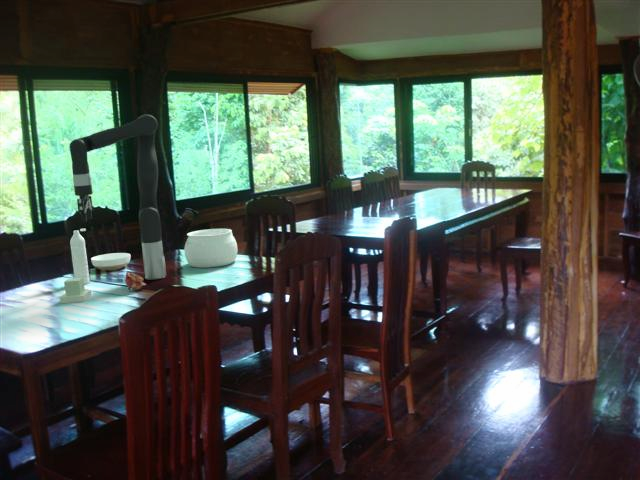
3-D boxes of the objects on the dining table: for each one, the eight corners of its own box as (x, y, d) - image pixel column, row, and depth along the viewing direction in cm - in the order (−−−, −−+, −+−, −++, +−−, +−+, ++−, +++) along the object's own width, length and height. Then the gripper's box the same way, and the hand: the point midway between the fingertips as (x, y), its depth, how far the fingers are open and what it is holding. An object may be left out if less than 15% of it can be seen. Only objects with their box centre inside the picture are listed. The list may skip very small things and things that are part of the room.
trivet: (91, 295, 292) (90, 289, 292) (84, 301, 282) (84, 295, 282) (67, 297, 292) (67, 291, 291) (60, 303, 282) (59, 297, 281)
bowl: (139, 265, 354) (138, 253, 353) (110, 273, 338) (108, 261, 337) (114, 263, 364) (112, 252, 363) (84, 271, 348) (82, 259, 347)
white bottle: (82, 285, 314) (76, 231, 310) (72, 284, 317) (65, 231, 313) (96, 280, 322) (90, 228, 317) (86, 280, 324) (79, 228, 320)
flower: (121, 290, 291) (131, 274, 290) (117, 282, 298) (126, 267, 298) (141, 298, 296) (151, 283, 296) (136, 290, 304) (145, 275, 304)
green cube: (84, 291, 290) (83, 277, 289) (80, 294, 284) (78, 280, 283) (70, 292, 289) (68, 278, 288) (65, 295, 283) (64, 281, 282)
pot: (214, 256, 366) (211, 226, 363) (251, 259, 350) (248, 228, 347) (172, 267, 342) (169, 235, 339) (210, 271, 327) (207, 238, 324)
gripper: (86, 185, 297) (91, 222, 300) (95, 182, 311) (99, 217, 314) (69, 186, 297) (73, 223, 299) (78, 183, 311) (83, 218, 313)
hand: (87, 220), depth 307 cm, fingers open, 8 cm apart
